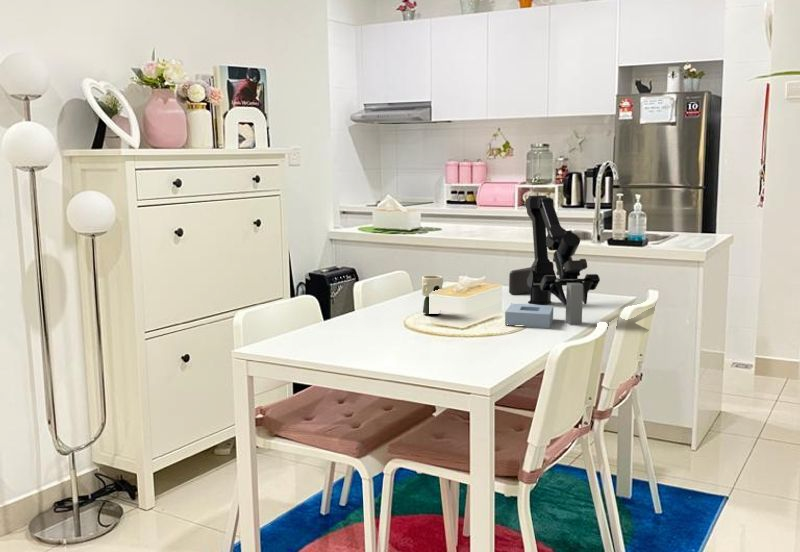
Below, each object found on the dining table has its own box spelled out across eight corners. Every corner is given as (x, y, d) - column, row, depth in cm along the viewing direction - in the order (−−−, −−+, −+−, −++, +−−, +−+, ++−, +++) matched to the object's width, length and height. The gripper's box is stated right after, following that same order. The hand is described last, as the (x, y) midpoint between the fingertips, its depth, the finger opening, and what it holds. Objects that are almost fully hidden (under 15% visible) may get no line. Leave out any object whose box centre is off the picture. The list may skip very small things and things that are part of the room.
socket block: (510, 316, 275) (511, 303, 274) (553, 318, 271) (553, 305, 270) (505, 325, 262) (505, 311, 261) (549, 328, 258) (549, 314, 257)
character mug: (432, 318, 271) (432, 280, 269) (414, 316, 275) (414, 278, 273) (449, 313, 280) (449, 275, 278) (432, 310, 284) (432, 273, 282)
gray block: (565, 322, 267) (566, 282, 265) (577, 321, 267) (578, 282, 265) (569, 324, 263) (571, 285, 261) (581, 324, 264) (583, 284, 261)
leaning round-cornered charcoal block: (517, 296, 310) (518, 271, 309) (507, 294, 313) (508, 270, 312) (543, 291, 321) (543, 267, 320) (533, 289, 324) (534, 266, 323)
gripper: (544, 250, 264) (554, 290, 255) (599, 249, 267) (611, 289, 258) (535, 271, 273) (545, 310, 264) (588, 269, 276) (600, 308, 267)
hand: (575, 304), depth 263 cm, fingers open, 6 cm apart
